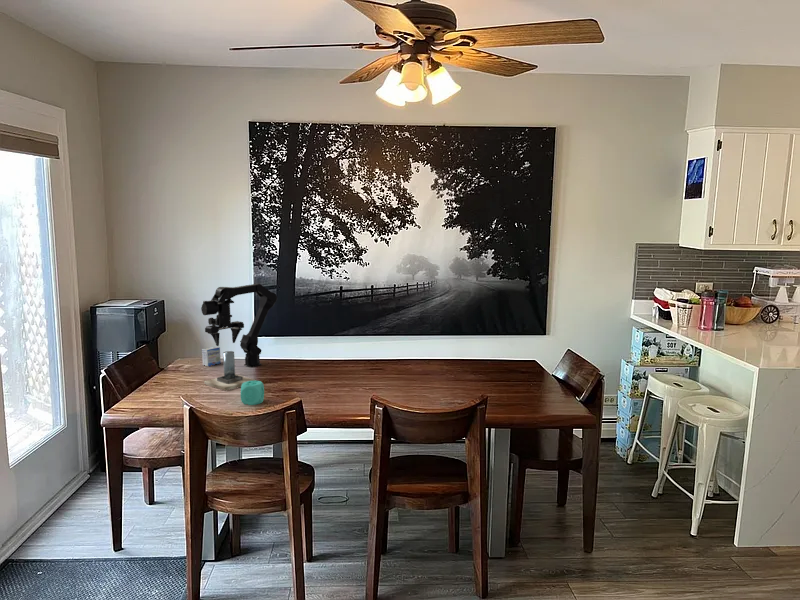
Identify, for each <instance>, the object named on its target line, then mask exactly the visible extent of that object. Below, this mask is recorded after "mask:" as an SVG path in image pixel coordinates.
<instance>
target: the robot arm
mask: <svg viewBox="0 0 800 600" xmlns="http://www.w3.org/2000/svg"><path fill="white" fill-rule="evenodd" d="M252 293H256V295H257V296H258V297H260V298H259V308H258V310H257V312H256V314H255V317H254V319H253V322H252V324H251V326H250V329H249V331H248V332H247V333H246V334H243V335H242V337H241V340H240V341H239V342H240V343H239V345H240V348H241V349H242V351H243V353H245V357H244V362H245V363H243V366H245V365H247V366H246V367H249V366H251V367H250V368H254V367H257V365H258V366H262V363H261V360H260V355H261V354H262V349H261V348H260V347H259V346H258V343H259V334H260V332H261V329H262V327H263V325H264V323H265V320H266V318H267V316H268V313H269V312H270V311H269V310H270V309H272V308H273V307H274V305H275V303H276V302H277V301H278V296H277V294H276V292H273V291H271V290H269V289H267V288H266V287H265V286H263V285H262V284H261V283H253V284H248V285H241V286H232V287H231V286H229V287H228V286H218V287H217V288H216V290H215V293H214V295H213V296H212V297H211V300H202V301H203V302H202V305H201V308H200V310H201V313H202V315H203V316H210V315H211V316H213V315H216V316H215V317H216V318H214V317H209V318H208V319H207V320H208V321H207V323H208V325H206V326H205V328H204V331H205V332H204V333H207V334H209V335H211V337H212V339H213V341H214V343H215V347H219V346H220V331H222V330H226V329H230V330H231V338H232V339H231V340H232V344H235V343H236V341H237V338H238V336H239V334H240V332H241V331H242V330H243V329H244V328H245V324H244V322H243V321H238V320H236V321H232V319H231V318H232V317H233V314H231V304H235V301H234V300H233V299H232V298H234V297H237V296H239V295H240V296H241V295H245V294H252ZM253 366H254V367H253Z"/></svg>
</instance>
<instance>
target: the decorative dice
mask: <svg viewBox="0 0 800 600" xmlns="http://www.w3.org/2000/svg"><path fill="white" fill-rule="evenodd" d="M264 398H265V385H264V382H262V381H261V380H255V381H247V382H244V383H243V384H242V386H241V387H240V400H241V403H242V404H243V405H246V404H248V405H247V406H256V405H260V404H262V403H263V401H265V399H264Z"/></svg>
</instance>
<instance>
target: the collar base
mask: <svg viewBox="0 0 800 600" xmlns="http://www.w3.org/2000/svg"><path fill="white" fill-rule="evenodd" d="M247 381H256V379H255V378H250V377H248V376H244V375H239V374H236V373H235V378H234V379H230V380H226V379H224V375H223V376H218V377H216V378H212V379H208V380H204V382H203V384H206V385H205V386H208V385H209V386H208V387H211V386H212V387H211V388H214V387H215V389H217V388H218V390H221V391H224V390H225V392H227V391H230V389H231V390H234V388H235V389H238V388H241V386H242V384H243V383H244V382H247ZM237 387H238V388H237ZM226 390H227V391H226Z"/></svg>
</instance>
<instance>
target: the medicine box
mask: <svg viewBox="0 0 800 600" xmlns="http://www.w3.org/2000/svg"><path fill="white" fill-rule="evenodd" d="M201 356H202V366H204V365H205V366H204V367H208V366H209V367H212V366H211V365H213V366H216V365H215V364H217V365H220V364H221V363H222V362H221V360H222V359H221V347H219V346H211V347H207V348H201Z"/></svg>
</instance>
